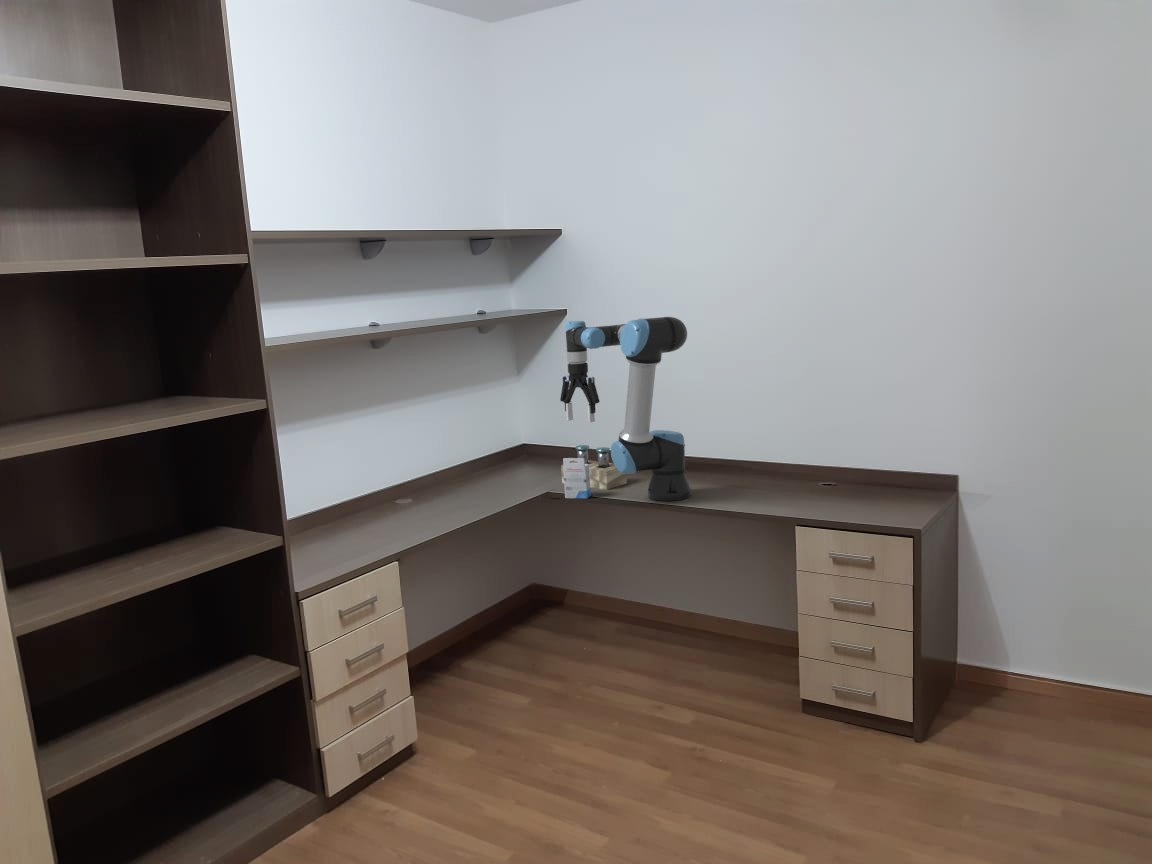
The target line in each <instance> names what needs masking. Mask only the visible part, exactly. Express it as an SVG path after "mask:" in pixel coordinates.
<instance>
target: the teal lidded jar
mask: <svg viewBox="0 0 1152 864" xmlns="http://www.w3.org/2000/svg"><path fill="white" fill-rule="evenodd" d="M575 450H576V451H577V452H576V453H577V454H576V455H577V458H584V460H585V464H588V460H589V452H588V451H589V450H590V445H587V444H579V445H576V446H575Z"/></svg>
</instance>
